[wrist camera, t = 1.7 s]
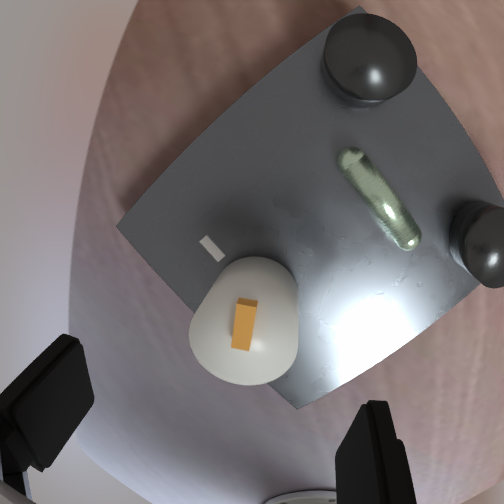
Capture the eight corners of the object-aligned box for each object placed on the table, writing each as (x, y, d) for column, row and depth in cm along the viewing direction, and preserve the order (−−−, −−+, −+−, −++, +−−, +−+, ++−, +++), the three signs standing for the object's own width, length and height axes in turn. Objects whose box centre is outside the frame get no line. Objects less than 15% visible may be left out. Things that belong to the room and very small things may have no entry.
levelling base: (507, 235, 17) (547, 256, 13) (298, 392, 23) (295, 439, 19) (354, 18, 15) (369, -18, 10) (130, 219, 21) (89, 238, 16)
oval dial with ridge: (290, 339, 19) (285, 400, 14) (211, 324, 20) (183, 380, 14) (306, 264, 18) (309, 312, 12) (218, 249, 18) (186, 289, 13)
